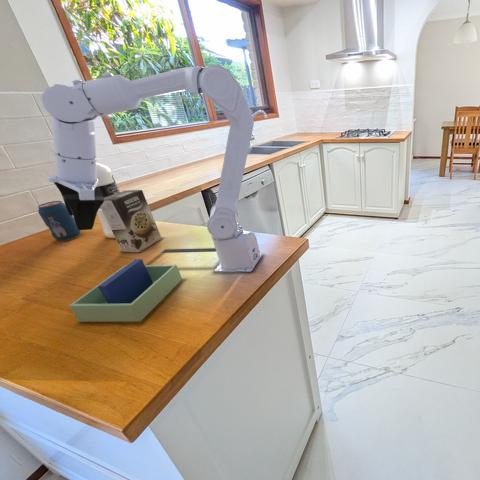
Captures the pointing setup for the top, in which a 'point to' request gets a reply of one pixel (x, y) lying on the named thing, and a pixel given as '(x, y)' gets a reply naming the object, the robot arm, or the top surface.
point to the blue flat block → (126, 283)
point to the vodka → (105, 194)
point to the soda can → (58, 220)
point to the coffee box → (131, 220)
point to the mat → (189, 250)
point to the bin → (99, 310)
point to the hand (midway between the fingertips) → (80, 221)
